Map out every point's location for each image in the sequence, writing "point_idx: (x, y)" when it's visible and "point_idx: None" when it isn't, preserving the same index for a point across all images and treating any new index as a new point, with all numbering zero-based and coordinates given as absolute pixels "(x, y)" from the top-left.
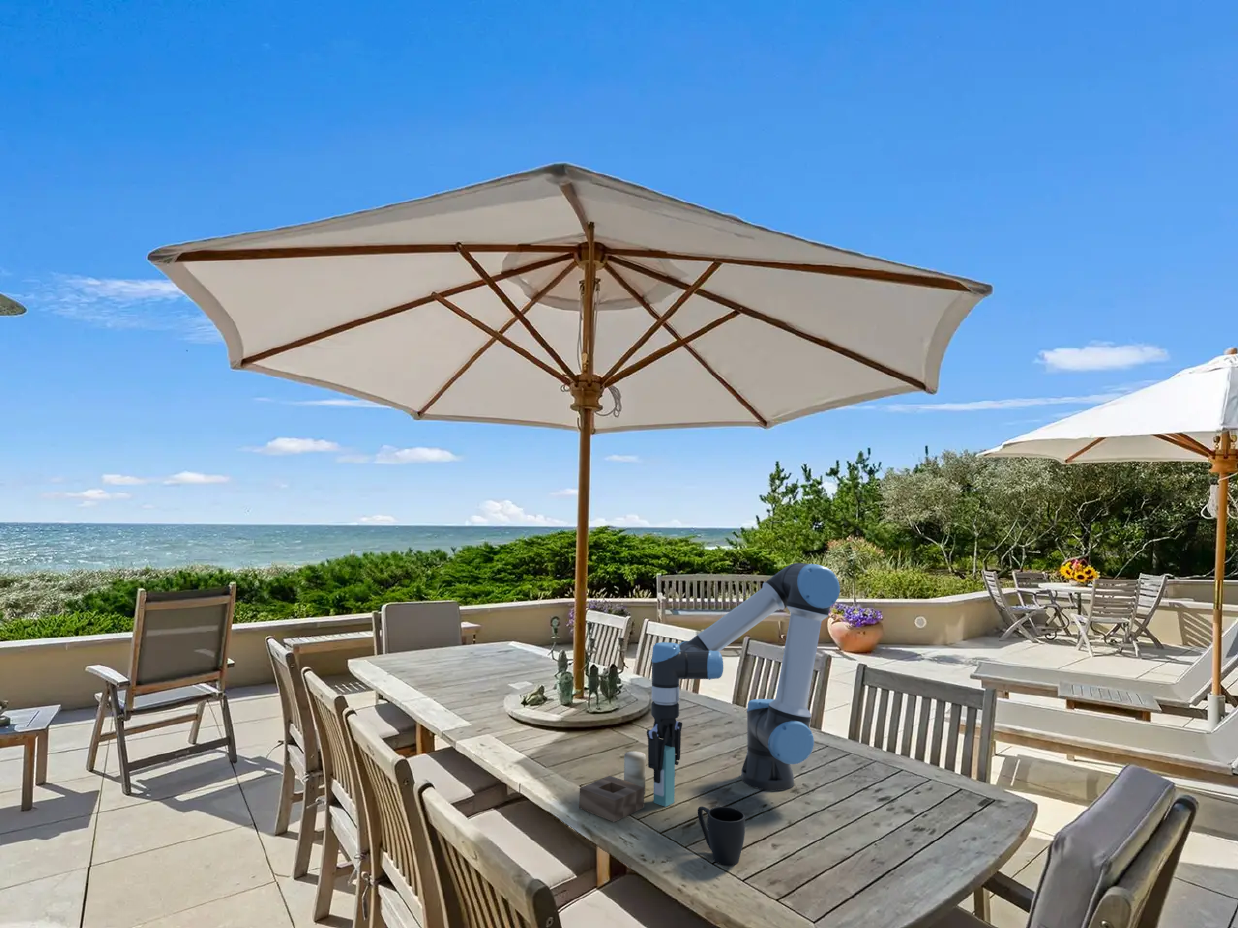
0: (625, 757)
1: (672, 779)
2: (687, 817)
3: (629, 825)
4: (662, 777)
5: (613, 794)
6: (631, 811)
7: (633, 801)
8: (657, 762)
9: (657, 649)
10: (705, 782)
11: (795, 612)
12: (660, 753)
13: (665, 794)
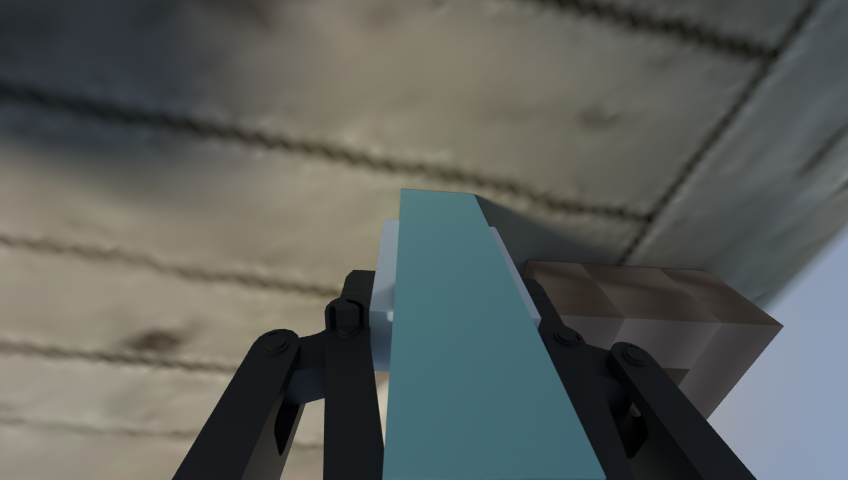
0: None
1: (425, 245)
2: (530, 31)
3: (723, 213)
4: (523, 284)
5: (706, 360)
6: (610, 269)
7: (619, 290)
8: (650, 391)
9: None
10: (55, 194)
11: None
12: (623, 473)
13: (483, 219)
